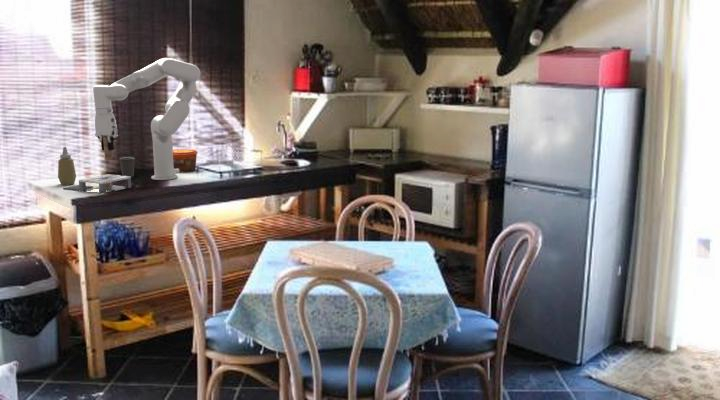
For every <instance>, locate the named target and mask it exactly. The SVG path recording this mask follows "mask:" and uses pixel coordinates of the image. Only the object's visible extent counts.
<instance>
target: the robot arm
mask: <svg viewBox="0 0 720 400" xmlns="http://www.w3.org/2000/svg"><path fill="white" fill-rule="evenodd" d="M168 76H169V77H172V78H174V79H178V80H179V81H178V82H179V84H178V87H177V89H176V90H175V92H174V93H173V95H172V96H171V97H170V98H169V100H168V101H167V102H166V103H165V106H164V110H165V113H164V115H161V114H160V115H156V116H155V117H153V118H152V120H151V122H150V132H151V137H152V151H153V153H152V154H153V171H154V173H153V174H154V175H151V177H150V178H151V179H152V180H154V181H168V180H175V179H178V175H177V174H176V173H180V172H179V169H175V168H174V164H173V150H174V148H173V146H174V144H173V137H172V136H173V135H174V134H175V133H177V131H178V130H179V129H180V127H181V126H182V124H183V123H184V122H185V120H186V119H187V117H188V116H189V114H190V111H191V110H190V102H191V101H192V99H193V98H194V96H195V94H196V90H197V83H196V82H197V81H198V80H199V79H200V78H201V70H200V68H199V67H198V66H197V65H195V64H192V63H188V62H184V61H180V60H179V59H174V58H170V57H163V58H160V59H158V60H156V61H155V62H153V63H151V64H148V65H147V66H145V67H143V68H141V69H140V70H137V71H134V72H133V73H131V74H129V75H127V76H126V77H123V78H121V79H119V80H117V81H115V82H113V83H112V84H111V85H107V84H106V85H105V84H104V85H102V84H101V85H94V86H93V88H92V92H93V99H94V100H93V102H94V111H95V116H94V127H95V128H94V129H95V132H94V133H95V134H94V136H95V137H96V138H98V140H99V142H100V143H101V145H100V146H101V150H102V151H104V143H103V135H104V136H107V137H108V150H109V151H110V150H112V151H114V150H115V145H114V142H115V140H116V139H117V138H118V137H119V134H118V132H119V131H118V125H117V120H116V118H115V115H114V113H113V112H114V109H113V106H112V101H124V100H125V99H127V98H128V96H129V94H130V93H132V92H133V91H136V90H139V89H144V88H146V87H149V86H151V85H154V84H155V83H157V82H159V81H161V80H162V79H164V78H166V77H168Z"/></svg>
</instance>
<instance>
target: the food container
mask: <svg viewBox="0 0 720 400" xmlns="http://www.w3.org/2000/svg"><path fill="white" fill-rule="evenodd" d="M197 155H198V151H197V150H195V149H183V148H182V149H173V164H174V168H175V169H179V172H178V173H189V172H195V171H196V170H197V169H196V166H197Z"/></svg>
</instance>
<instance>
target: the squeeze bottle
mask: <svg viewBox="0 0 720 400" xmlns="http://www.w3.org/2000/svg"><path fill="white" fill-rule="evenodd" d="M59 157H60V159H58V164H57V165H58V166H57V178H58V180H59V182H60V185H63V186H73V185H75V182H76V180H77V179H76V178H77V174H76V168H75V162H74V159H73V158H71V157H72V155H71V154H70V153H69V152H68V150H67V146H63V148H62V154H61V153H60V155H59Z"/></svg>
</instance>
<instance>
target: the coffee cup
mask: <svg viewBox="0 0 720 400" xmlns="http://www.w3.org/2000/svg"><path fill="white" fill-rule="evenodd" d="M135 160H136V158H135V157H133V156H122V157H120V158H119V159H118V161H119V164H120V169H121V174H122V175H121V176H131V178H132V177H134V175H135V174H134V173H135Z"/></svg>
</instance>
